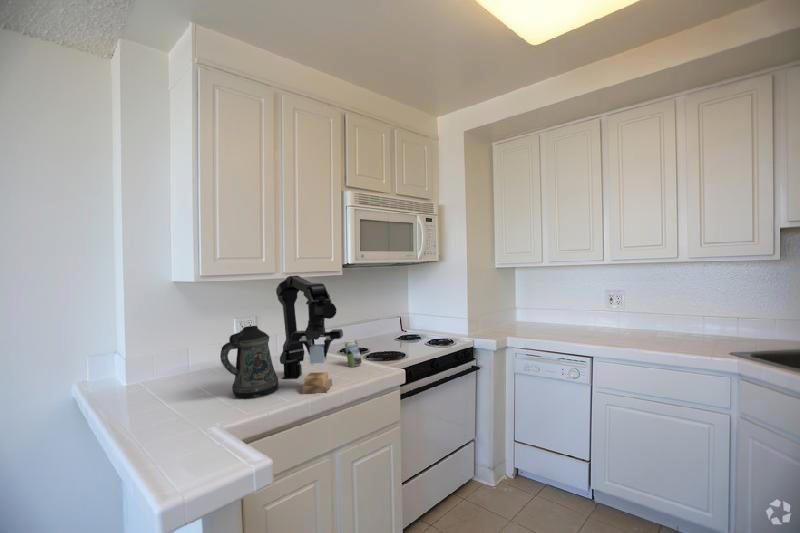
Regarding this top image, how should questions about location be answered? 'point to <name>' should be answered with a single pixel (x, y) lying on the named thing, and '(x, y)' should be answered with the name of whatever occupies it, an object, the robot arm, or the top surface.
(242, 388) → the beer stein
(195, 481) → the top surface
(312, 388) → the bottom block
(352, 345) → the beverage can
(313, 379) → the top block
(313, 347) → the slate block
